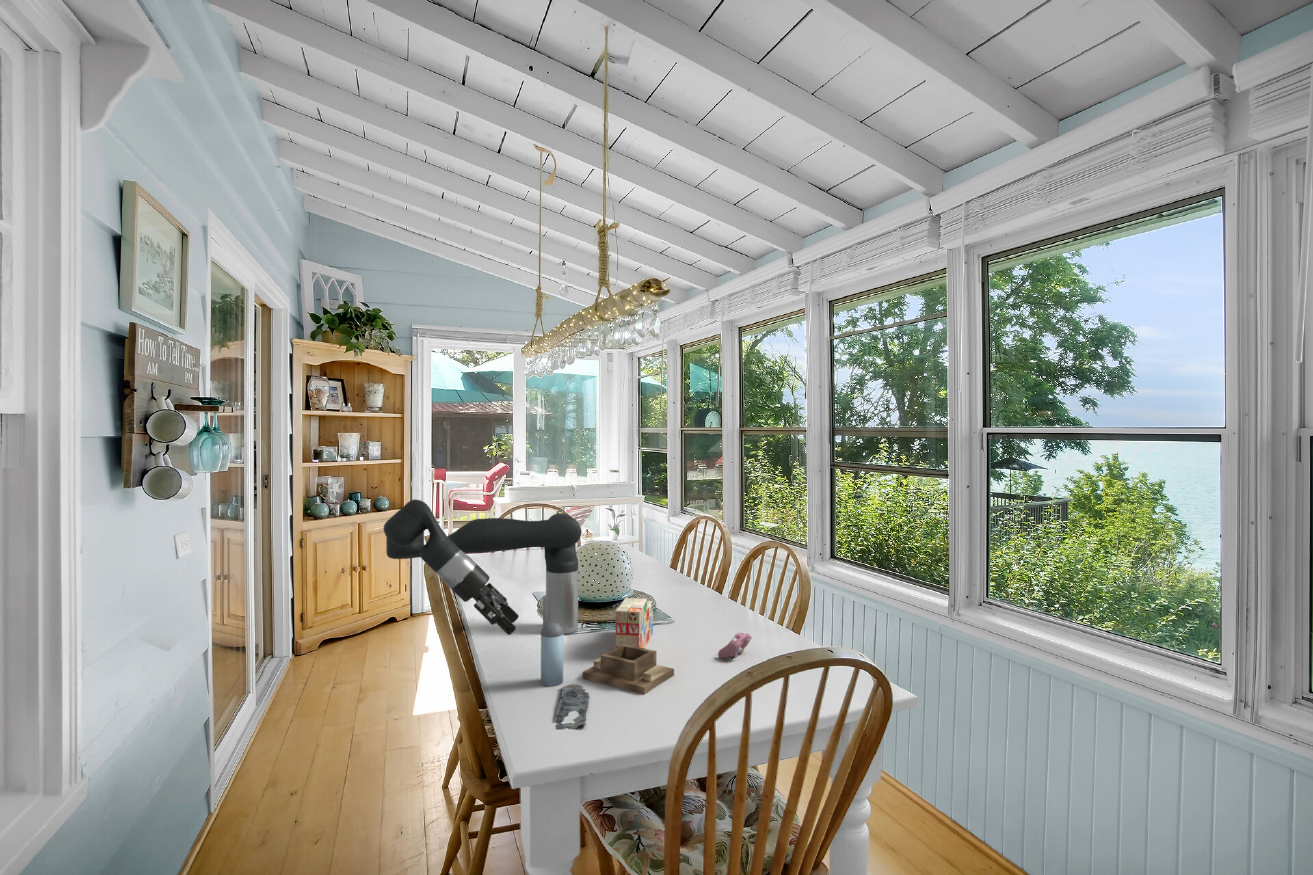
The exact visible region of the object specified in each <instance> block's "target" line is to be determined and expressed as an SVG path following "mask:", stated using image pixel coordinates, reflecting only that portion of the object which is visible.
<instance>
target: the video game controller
mask: <svg viewBox="0 0 1313 875" xmlns="http://www.w3.org/2000/svg"><path fill="white" fill-rule="evenodd" d="M752 638H753V637H752V636H751V635H750V634H749V633H748V632H747V633H745V631H743V632H738V633H736V634H734V636H733V638H732V639H731V640H730V641H729V642H728V643H727V644H726V645H725V646H724V647H722V648H721V649H719V650H718V652H717V657H718V659H721V660H724V659H725V660H726V659H729V658H731V657H733V658H734V659H735V658H737V656H738V655H741V654H742V653H744V652H745V649H746V647H747V646H748V645H749V643H750V642H751V640H752Z"/></svg>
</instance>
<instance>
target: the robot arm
mask: <svg viewBox="0 0 1313 875" xmlns="http://www.w3.org/2000/svg"><path fill="white" fill-rule="evenodd" d="M426 530H427V531H428V533H429V538H428V540H427V541H426V543H425V531H426ZM582 532H583V531H582V528H581V524H580V523H579V522H578V520H576V519H575V518H574V517H573V516H570V514H566V513H562V512H559V513H554V514H553V515H551V516H549V518H547V519H543V520H541V519H540V520H524V519H523V520H522V519H515V518H504V517H503V518H502V517H489V518H475V519H471V520H470V521H469V522H467V523H464V524H463V525H462V526H461V527H458V529H457V530H455V531H454V532H453V533H451V534H449V535H448V536H447V535H446V533H445V532H444V530H443V529H442V527H441V526H440V524H439V523H438V520H437V518H436V517H435V515H434V513H433V511H432V509H431V508H430V506H429V505H428V504H427V503H426V502H425V501H422V500H420V499H411V500H409V501H408V502H407V503H405V504H404V505H403V506H402V507H401V508H400V509H398V511H397V512H396V513H395V514H394V515H392V516H391V517H390V518H389V519H387V521H385V523H384V525H383V533H384V535H385V536H386V539H385V540H386V543H385V544H386V546H385V547H386V556H387V558H389V559H391V560H392V559H394V560H407V559H416V558H417V559H419V558H420V559H421V560H422V561H424V562H425V564H426V565H427V566H428V567H429V568H430V569H431V570H433V571H434V573H436V575H437V576H438V577H439V578H440V579H441V580H442V582H443V583H444V584H445V585H446V586H447V587H449V589H450V590H451V591H452V592H454V594H455V595H457V597H458V598H460V599H461V600H462V602H465V603H466V602H468V601H470V600H471V599H472V598H473V599H474V601H475V603H474V604H473V607H474V609H476V611H478V612H479V614H481V616H483V618H485V620H487V621H488V622H489V624H490V625H492V626H494V625H497V626H498V627H499V628H500V629H501V630H502V631H503V632H505V634H507V636H510V635H512V634H513V633H514V632H515V631H516V628H517V627H516V626H515V624H514V623H515V622H516V621H517V620H518V619H519V614H518V613H517V612H516V611H515V610H514V609H513V608H512V607H511V606H510V605H509V603H508V599H507V597H505V596H504V595H503V593H501V592H500V591H499V590H498V589H497V588H496V587H495V586H494V585H493V584H492V583H490V582H489V580H490V575H489V574H487V572H486V571H485V570H483V568H482V567H481V566H479V565H478V563H476V562H475V561H474V560H473V559H472V557H470V556H469V555H468V554H476V553H478V554H480V553H496V552H503V551H513V550H514V551H515V550H522V549H528V548H529V549H530V548H543V549H544V561H545V562H544V563H545V595H543V597H542V628H543V627H544V626H545V625H546V624H548V623H557V624H559V625H560V626H561V627H562V629H563V635H564V634H571V633H575V632H577V630H578V629H579V560H578V555H577V546H576V545H577V543H578V542H579V540H580V539H581V537H582ZM424 562H423V563H424Z"/></svg>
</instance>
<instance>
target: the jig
mask: <svg viewBox="0 0 1313 875" xmlns="http://www.w3.org/2000/svg"><path fill="white" fill-rule="evenodd" d="M674 676H675V668H674V667H668V666H664V665H659V664H657V650H652V649H650V648H649V649H647V648H645V649H644V648H640V647H635V646H631V645H626V644H622V645H620V646H618V647H616V648H615V647H614V648H613V649H611V650H609V651H606V652H605V653H602V654H601V655H600V657H599V658H597V659H595V660H593V665H592V667H590V668H587V669H585V670H584V671H582V679H584V680H588V681H592V682H595V683H598V684H599V683H600V684H603V685H608V686H611V687H614V686H615V688H619V689H622V688H623V690H626V691H630V692H633V693H636V694H637V693H638V694H641V695H646V694H648V692H651V691H652V690H653V689H655V688H657V687H658V686H660V685H661V684H663V683H665V682H666V681H667V680H668V679H671V678H672V677H674ZM656 686H657V687H656Z"/></svg>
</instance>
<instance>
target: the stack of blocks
mask: <svg viewBox="0 0 1313 875" xmlns="http://www.w3.org/2000/svg"><path fill="white" fill-rule="evenodd" d="M653 620H654V612H653V600H648V599H647V598H636V597H635V598H633V597H632V598H630V597H625V598H624V599H623V601H622V603H621V604H620V605H619V606H618V607H617V609H616V610H615V647H614V648H616V647H618V646H620V645H622V644H626V645H631V646H635V647H640V648H644V649H646V648H647V645H648V643H649V641H650V639H651V637H652V635H653V632H654V630H653V627H654V626H653V625H654V621H653Z"/></svg>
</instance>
